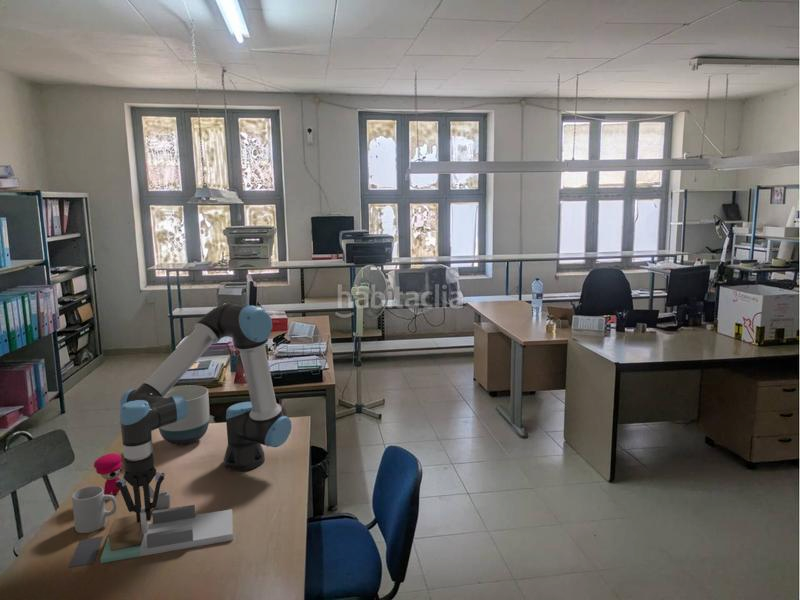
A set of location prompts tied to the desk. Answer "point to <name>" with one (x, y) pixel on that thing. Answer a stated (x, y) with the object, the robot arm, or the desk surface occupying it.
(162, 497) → the lighter
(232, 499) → the desk surface
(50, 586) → the desk surface
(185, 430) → the planter
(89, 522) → the mug
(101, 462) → the toy
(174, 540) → the plate
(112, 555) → the tile
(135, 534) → the block
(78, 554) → the mat
